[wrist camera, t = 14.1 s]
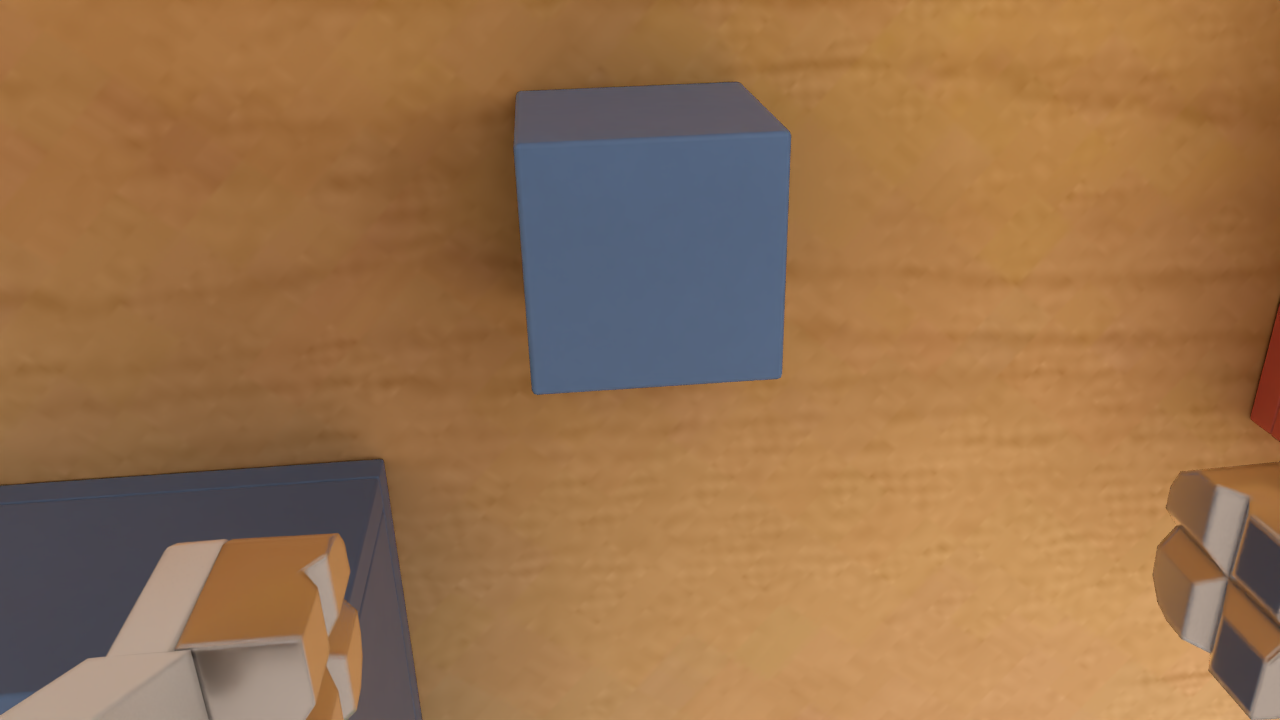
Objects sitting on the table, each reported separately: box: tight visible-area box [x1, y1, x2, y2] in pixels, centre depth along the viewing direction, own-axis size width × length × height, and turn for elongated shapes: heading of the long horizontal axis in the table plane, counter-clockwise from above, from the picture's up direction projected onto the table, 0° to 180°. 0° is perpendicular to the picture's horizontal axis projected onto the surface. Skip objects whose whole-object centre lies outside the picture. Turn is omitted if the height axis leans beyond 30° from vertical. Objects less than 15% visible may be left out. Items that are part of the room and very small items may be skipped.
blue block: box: [514, 82, 791, 395], centre depth 19 cm, size 4×4×4 cm
